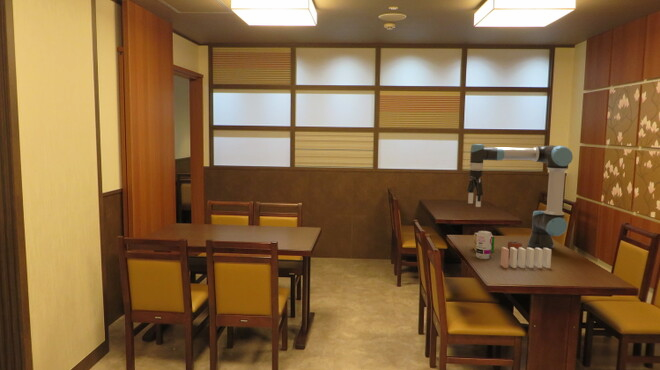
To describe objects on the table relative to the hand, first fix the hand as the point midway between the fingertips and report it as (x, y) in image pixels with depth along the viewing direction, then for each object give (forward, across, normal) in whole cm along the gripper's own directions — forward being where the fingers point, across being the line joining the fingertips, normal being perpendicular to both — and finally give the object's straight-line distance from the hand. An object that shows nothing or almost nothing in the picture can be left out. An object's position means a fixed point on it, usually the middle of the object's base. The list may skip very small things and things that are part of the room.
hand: (474, 205), depth 291 cm
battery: (+28, +17, +19) cm, 38 cm away
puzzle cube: (+28, 0, +7) cm, 29 cm away
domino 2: (+28, +35, +11) cm, 46 cm away
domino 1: (+28, +35, +6) cm, 45 cm away
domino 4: (+28, +35, +20) cm, 49 cm away
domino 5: (+28, +35, +25) cm, 51 cm away
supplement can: (+28, +17, +1) cm, 33 cm away
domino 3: (+28, +35, +15) cm, 47 cm away
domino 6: (+28, +35, +29) cm, 53 cm away
